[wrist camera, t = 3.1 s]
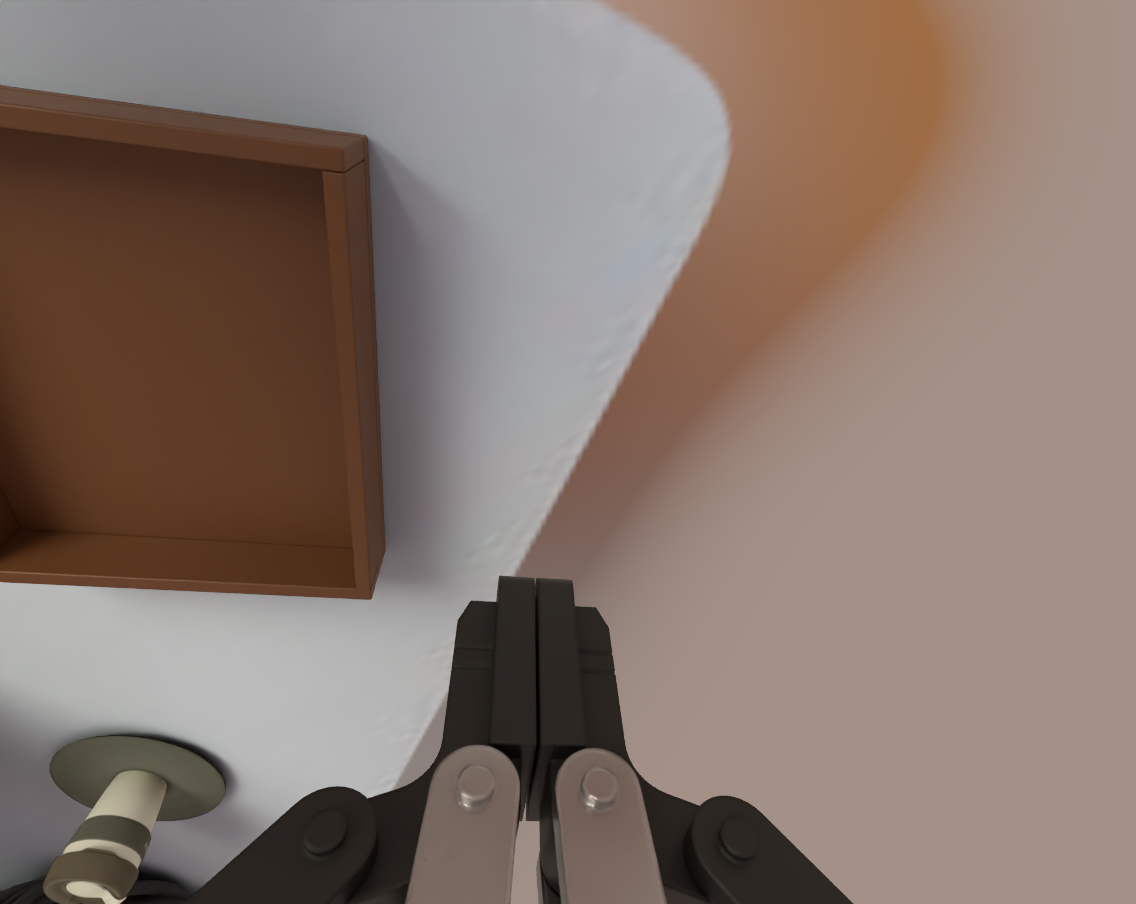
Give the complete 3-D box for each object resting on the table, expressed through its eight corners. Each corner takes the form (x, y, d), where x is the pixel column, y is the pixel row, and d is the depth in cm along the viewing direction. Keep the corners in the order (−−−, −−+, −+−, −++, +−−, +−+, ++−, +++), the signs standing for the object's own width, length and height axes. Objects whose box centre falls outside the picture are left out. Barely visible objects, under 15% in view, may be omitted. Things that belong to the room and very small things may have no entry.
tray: (-201, 57, 14) (-332, 58, 12) (368, 135, 15) (343, 148, 13) (20, 529, 21) (-35, 581, 19) (385, 550, 23) (371, 600, 21)
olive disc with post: (24, 676, 25) (-75, 799, 21) (307, 752, 29) (271, 867, 25) (-14, 809, 30) (-100, 928, 26) (231, 857, 34) (191, 967, 30)
